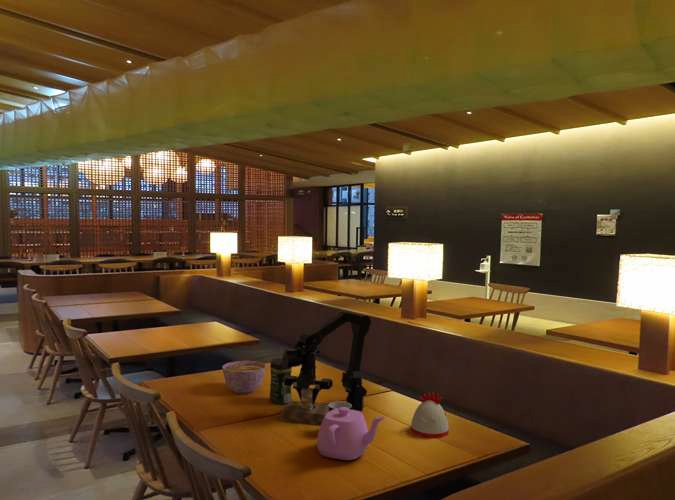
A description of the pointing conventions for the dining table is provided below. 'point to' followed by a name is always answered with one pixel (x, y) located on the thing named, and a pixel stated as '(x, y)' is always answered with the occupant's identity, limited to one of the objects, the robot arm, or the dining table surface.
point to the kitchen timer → (430, 418)
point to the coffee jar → (279, 382)
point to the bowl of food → (244, 375)
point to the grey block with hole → (304, 413)
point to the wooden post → (307, 398)
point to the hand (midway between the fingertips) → (307, 403)
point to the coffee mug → (339, 405)
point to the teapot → (345, 434)
